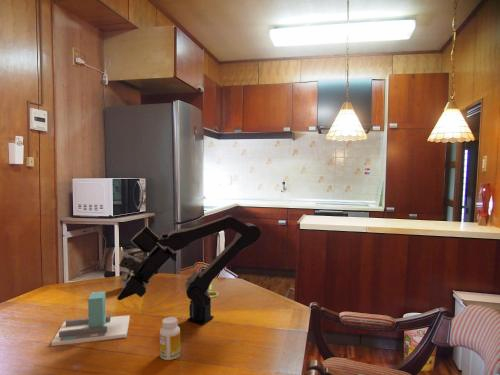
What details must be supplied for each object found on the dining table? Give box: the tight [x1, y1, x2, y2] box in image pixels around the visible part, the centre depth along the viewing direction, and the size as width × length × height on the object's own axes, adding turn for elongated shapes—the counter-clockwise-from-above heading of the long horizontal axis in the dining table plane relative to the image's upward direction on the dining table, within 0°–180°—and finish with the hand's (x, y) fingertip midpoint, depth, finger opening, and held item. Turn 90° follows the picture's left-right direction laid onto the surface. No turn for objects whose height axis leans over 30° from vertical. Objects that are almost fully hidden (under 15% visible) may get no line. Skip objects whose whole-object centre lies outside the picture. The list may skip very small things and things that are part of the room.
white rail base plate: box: [51, 315, 131, 347], centre depth 107 cm, size 20×14×2 cm
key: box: [207, 283, 219, 299], centre depth 141 cm, size 7×12×2 cm, turn 23°
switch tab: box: [87, 290, 107, 328], centre depth 107 cm, size 4×6×10 cm, turn 15°
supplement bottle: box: [159, 316, 181, 361], centre depth 93 cm, size 5×5×10 cm
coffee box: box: [121, 247, 149, 289], centre depth 148 cm, size 9×6×16 cm
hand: (118, 299), depth 108 cm, fingers closed
